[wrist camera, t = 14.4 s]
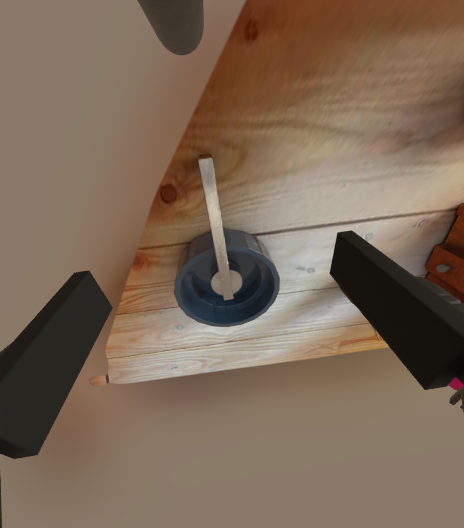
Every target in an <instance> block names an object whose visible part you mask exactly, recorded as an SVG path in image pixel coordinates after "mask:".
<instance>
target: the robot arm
mask: <svg viewBox="0 0 464 528" xmlns="http://www.w3.org/2000/svg"><path fill="white" fill-rule="evenodd" d="M330 275H331V276H332V277H333V278H334V280H335V281H336V282H337V283H338V285H339V286H340V287H341V288H342V289H343V291H344V292H345V293H346V294H347V296H348V297H349V298H350V299H351V300H352V302H353V303H354V304H355V305H356V307H357V308H358V309H359V310H360V311H361V313H362V314H363V315H364V316H365V318H366V319H367V320H368V321H369V322H370V324H371V325H372V326H373V327H374V329H375V330H376V331H377V332H378V333H379V335H380V336H381V337H382V338H383V340H384V341H385V342H386V343H387V344H388V346H389V347H390V348H391V349H392V350H393V352H394V353H395V354H396V355H397V357H398V358H399V359H400V360H401V361H402V363H403V364H404V365H405V366H406V368H407V369H408V370H409V371H410V372H411V374H412V375H413V376H414V377H415V379H416V380H417V381H418V382H419V383H420V385H421V386H422V387H423V388H424V390H428V389H434V388H440V387H446V386H448V385H449V384H450V383H451V382H452V380H453V379H454V378H455V377H456V378H457V379H458V380H459V381H460V382H461V383H462V384H463V386H462V387H461V388H460V389H459V390H458V391H457V392H456V393H455V394H454V395H453V396H452V397H451V398H450V402H449V403H450V404H452V405H454V404H456V403H457V402H458V401H459V400H460V399H462V406H461V407H460V408H462V409H463V411H464V303H461V301H460V300H459V299H457V298H456V297H454V296H453V295H450V294H449V292H447V291H446V290H444V289H443V288H441V287H440V286H439V285H437V284H435V283H433V282H431V281H429V280H426V279H424V278H422V277H414V276H413V275H412V274H410V273H409V272H407V271H406V270H405V269H403V268H402V267H401V266H399V265H398V264H397V263H395V262H394V261H393V260H391V259H390V258H388V257H387V256H386V255H384V254H383V253H382V252H380V251H379V250H378V249H376V248H375V247H374V246H372V245H371V244H369V243H368V242H367V241H365V240H364V239H363V238H361V237H360V236H359V235H357V234H356V233H355V232H353V231H352V230H351V231H345V232H338V233H337V238H336V243H335V248H334V254H333V259H332V264H331V269H330ZM112 308H113V307H112V306H111V304H110V303H109V301H108V299H107V298H106V296H105V295H104V293H103V292H102V290H101V288H100V287H99V285H98V284H97V282H96V281H95V279H94V277H93V276H92V274H91V273H90V271H83V272H76V273H74V274H73V275H72V276H71V277H70V278H69V280H68V281H67V282H66V283H65V284H64V285H63V286H62V287H61V288H60V290H59V291H58V292H57V293H56V294H55V295H54V296H53V297H52V299H51V300H50V301H49V302H48V303H47V304H46V305H45V307H44V308H43V309H42V310H41V311H40V312H39V313H38V314H37V316H36V317H35V318H34V319H33V320H32V321H31V322H30V323H29V325H28V326H27V327H26V328H25V329H24V330H23V331H22V332H21V334H20V335H19V336H18V337H17V338H16V339H15V340H14V342H12V343H11V344H10V345H9V346H7V347H6V348H5V349H4V350H2V351H1V352H0V454H3V455H5V456H8V457H10V458H13V459H17V458H22V457H28V456H34V455H38V453H39V451H40V449H41V447H42V445H43V443H44V441H45V439H46V437H47V435H48V433H49V431H50V429H51V427H52V426H53V424H54V421H55V420H56V418H57V416H58V414H59V412H60V410H61V408H62V406H63V404H64V402H65V400H66V398H67V396H68V394H69V392H70V390H71V388H72V386H73V384H74V382H75V380H76V379H77V376H78V375H79V373H80V371H81V369H82V367H83V365H84V363H85V361H86V359H87V357H88V355H89V353H90V351H91V349H92V347H93V345H94V343H95V341H96V339H97V337H98V335H99V333H100V332H101V329H102V327H103V326H104V323H105V322H106V320H107V318H108V316H109V314H110V312H111V310H112ZM0 479H1V478H0ZM1 515H2V514H1V480H0V528H2V516H1Z"/></svg>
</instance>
